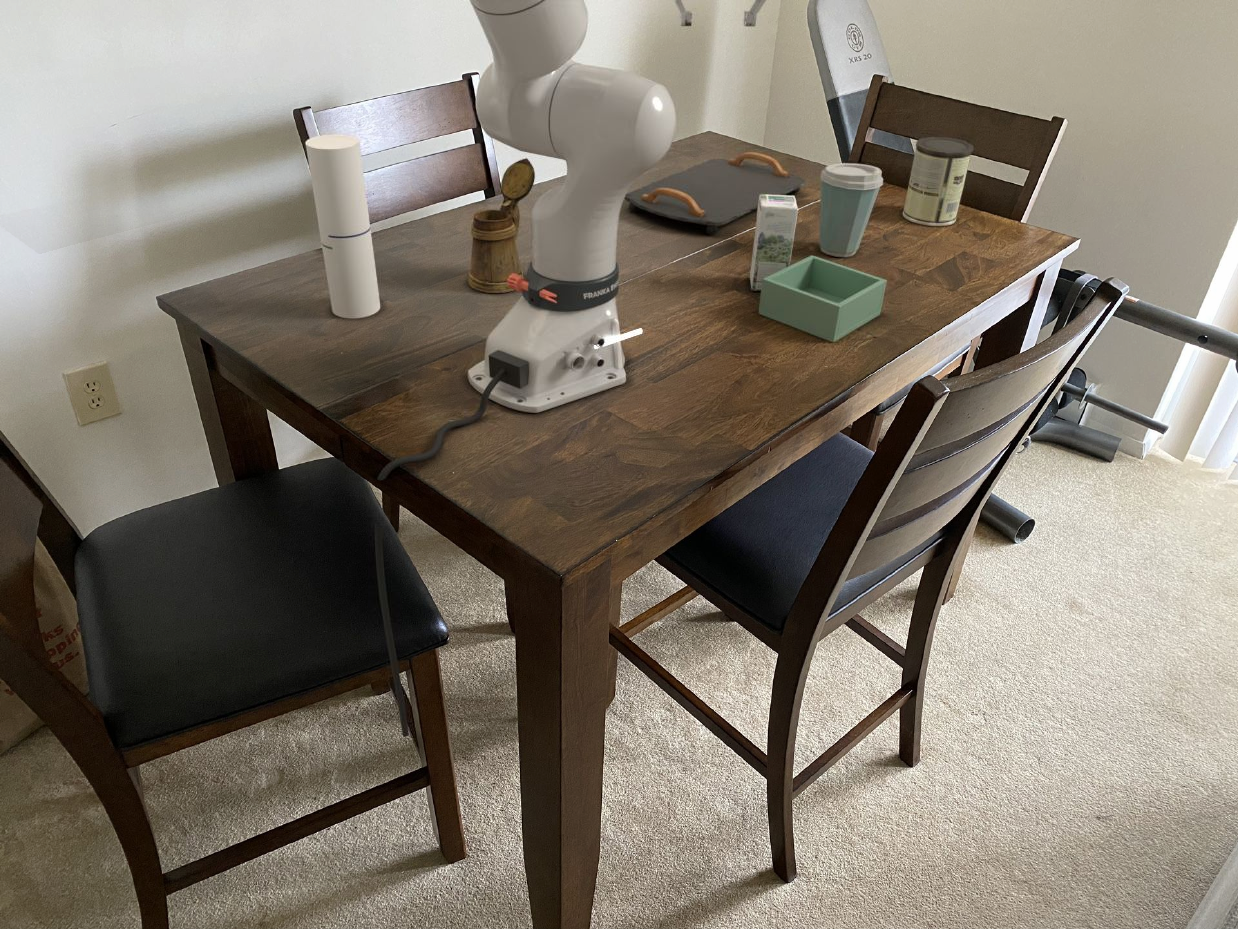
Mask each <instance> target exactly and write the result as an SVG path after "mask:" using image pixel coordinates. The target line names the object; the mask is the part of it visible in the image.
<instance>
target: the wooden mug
mask: <svg viewBox="0 0 1238 929" xmlns="http://www.w3.org/2000/svg"><path fill="white" fill-rule="evenodd" d="M535 179H536V172H535V168H534V166H533V164H532V163H531V161H530V160H529V159H528V158H527V157H526V158H522V159H519V160H517V161H515V162H513V163H512V164H511V165H509V166H508V167H507V168H506V170H505V171H504V173H503V176H502V178H501V183H500V191H501V194H502V197H503V201H502V203H501V206H500V208H499V210H498V209H482V210H479V211H477V212H475V213H474V214H473V221H472V222H471V229H470V230H471V231H470V234H471V235H470V236H471V237H472V244H471V245H472V246H471V259H470V269H469V272H468V280H467V283H468V286H469V287H470V288H472V289H473V290H476V291H479V292H481V293H482V292H483V293H487V294H490V293H491V294H501V293H502V294H503V293H509V292H513V291H516V290H515V289H511V288H509V287H508V286H507V285H508V284H507V282H508V281H507V279H508V278H509V276H510V275H511V274H513V273H515V274H517V275H519V276H520V277H524V272H523V269H522V267H521V263H520V256H519V252H518V247H517V237H518V234H519V228H520V217H521V216H520V208H519V202H520V201H522V200H523V199H525V198H526V197H527V196H528V195H529V194H530V192H531V191H532V189H533V186H534V183H535Z"/></svg>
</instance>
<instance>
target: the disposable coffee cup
mask: <svg viewBox="0 0 1238 929" xmlns="http://www.w3.org/2000/svg"><path fill="white" fill-rule="evenodd" d="M882 173H883V171H882V170H881V168H879V167H877V166H873V165H869V164H862V163H847V162H840V163H833V164H830V165H827V166H825V167H824V168H823V169H822V170H821V173H820V175H819V177H820V202H819V203H820V208H819V239H818V240H819V241H818V243H819V247H820V251H821V252H822V253H824V254H826V255H828V256H832V257H837V258H848V257H853V256H854V255H855V254H856V253H857V251H858V250H859V249H860V248H859V247H860V244H861V242H862V240H863V237H864V233H865V230H866V228H867V225H868V223H869V220H870V218H871V217H870V216H871V214H872V211H873V209H874V205H875V202H876V201H877V200H876V199H877V197H878V194H879V191H880V189H881V187H882V186H884V178H883V176H882Z"/></svg>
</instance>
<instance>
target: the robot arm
mask: <svg viewBox="0 0 1238 929" xmlns="http://www.w3.org/2000/svg"><path fill="white" fill-rule="evenodd" d="M673 1H674V4H675V5H676V8H677V9H678V12H679V20H678V21H679V26H680V27H692V22H693V21H692V19H693V12H692V11H690V10H686V8H685V6H684V3H683V0H673ZM766 1H767V0H755V1H754V2H753V3H752V6H751V7H750V9H749V11H746V10H744V11H743V20H742V25H743V26H744V27H756V25H757V17H758V14H759V12H760V10H761V9H762V7H763V6H764V4H765V3H766ZM469 3H470V4H471V7H472V10H474V13H475V15H476V17H477V19H478V22H479V24H480V26H481V29H482V31H483V33H484V35H485V39H486V40H487V43H488V45H489V47H490V51H491V53H492V59H493V60H492V62H491V63H490V64H489V65H488V66H487V67H486V69H485V70H484V72H482V75H481V77H480V79H479V81H478V84H477V87H476V93H475V109H476V115H477V119H478V121H479V124H480V126H481V129H482V130H483V132H484V133H485V134H486V135H487V136H488V137H489V138H491V139H493V140H496V141H498V142H499V143H502V144H503V145H506V146H509V147H510V148H512V149H515V150H517V151H519V152H523V153H528V154H534V155H538V156H544V157H547V158H552V159H558V160H563V161H565V163H566V177H565V181H564V183H562V184H559V185H557V186H555V187H553V188H551V189H549V190H547V191H545V192H544V193H542V194H541V195H540V196H539V197H538V198H537V199H536V201H535V203H534V204H533V206H532V209H531V212H530V240H531V241H530V243H531V246H530V248H531V261H530V262H529V265H528V268H527V271H526V275H525V277H524V276H523V277H520V276H519V275H517V274H515V273H513V274H511V275H510V276H509V278H508V279H507V281H508V282H507V284H508V285H507V286H508V287H509V288H511V289H515V290H514V291H516V292H518V293H521V296H520V298H518V300H517V301H516V302H515V303H514V305H513V306H512V307H511V308H510V309H509V310H508V312H507V313H506V314H505V315H504V317H502V319H501V320H500V321H499V322H498V323H497V325H496V326H495V327H494V328H493V329H492V330H491V332H490V333H489V334H488V336H487V339H486V342H485V349H484V359H483V360H482V361H480V362H478V363H477V364H475V365H474V366H472V367H471V368H469V369H468V370H467V379H468V382H469V384H470V385H471V386H472V388H474V389H475V390H476V391H477V392H478V393H480V394H481V398H480V403H479V407H478V409H477V411H476V412H475V413H474V414H472V415H471V416H469V417H467V418H463V419H462V418H461V419H458V420H454V421H450V422H447V423H445V424H444V425H442V426H441V427H439V429H438V430H437V432H436V434H435V437H434V441H433V445H432V447H431V448H429V450H427V451H425V452H423V453H421V454H415V455H410V456H402V457H399V458H396V459H394V460H392V461H390V462H388V464H386V465H385V467H383V469H382V470H381V471H380V472H379V474H378V476H377V481H384V480H386V479H387V477H388V476H389V474H390V473H391V472H392V471H393V470H395V469H396V468H397V467H400V466H404V465H408V464H415V463H422V462H424V461H425V462H426V461H427V460H429V459H431V458H433V457H434V456H435V455H436V454H437V453H439V451H440V450H441V449H440V448H441V446H442V442H443V437H444V436H445V434H446V433H447V432H448V431H450V430H452V429H456V428H459V427H465V426H469V425H471V424H474V423H476V422H477V421H479V420H480V419H481V418H482V417H483V415H484V414H485V412H486V409H487V406H488V402H489V400H491V401H493V402H495V403H497V404H498V405H502V406H503V407H506V408H508V409H512V410H515V411H519V412H524V413H532V414H537V413H541V412H544V411H548V410H550V409H553V408H556V407H559V406H562V405H565V404H568V403H572V402H575V401H577V400H579V399H583V398H585V397H589V396H591V395H594V394H597V393H600V392H603V391H607V390H609V389H612V388H615V387H618V386H622V385H624V384H625V383H626V382H627V374H626V371H625V368H624V367H625V364H626V357H625V354H624V351H623V347H622V343H621V341H624V340H626V339H630V338H632V337H635V336H638V335H641V334H643V329H642V328H638V329H635V330H634V329H633V330H632V331H628V332H626V333H622V334H621V330H620V321H619V314H618V308H617V299H616V298H617V295H618V294H619V290H620V289H619V288H620V287H619V285H620V272H619V271H620V269H619V268H620V266H619V264H618V262H617V243H618V231H619V230H618V229H619V222H620V213H621V209H622V206H623V203H624V200H625V199H624V198H625V196H626V194H627V193H629V190H630V189H631V187H632V185H633V184H634V183H635V182H636V181H637V179H638V178H640V177H641V176H642V175H643V174H645V173H646V172H647V171H649V170H651V169H652V168H653V167H655V166H656V165H658V164H659V162H660V161H662V160H663V158H664V157H665V156H666V154H667V153H668V151H669V150H670V148H671V146H672V143H673V142H674V138H675V134H676V129H677V114H676V108H675V104H674V102H673V99H672V97H671V95H670V92H669V91H668V90H667V88H666V87H665V86H664V85H663V84H661V83H659V82H656V81H654V80H651V79H650V78H646V77H644V76H642V75H639V74H636V73H634V72H632V71H627V70H622V69H615V68H608V67H602V66H597V65H590V64H583V63H580V62H577V61H574V60H573V59H572V58H573V57H574V56H575V55H576V54H577V53H578V51H580V49H581V47H582V45H583V43H584V41H585V39H586V35H587V32H588V24H589V12H588V11H589V10H588V9H587V8H588V7H587V5H586V1H585V0H469ZM374 544H375V545H374V548H375V564H376V577H377V586H378V594H379V601H380V610H381V615H382V616H381V617H382V622H383V629H384V633H385V638H386V639H385V640H386V645H387V650H388V656H389V661H390V667H391V672H392V677H393V678H392V679H393V684H394V688H395V695H396V701H397V706H398V713H399V720H400V727H401V735H402V737H404V738H406V737H409V726H408V718H407V717H408V716H407V711H406V705H405V698H404V692H403V686H402V681H401V680H402V679H401V675H400V674H401V673H400V669H399V664H398V663H399V662H398V658H397V653H396V652H397V651H396V646H395V641H394V635H393V628H392V622H391V616H390V610H389V603H388V594H387V587H386V578H385V564H384V548H383V547H384V546H383V525H381V524H379V523H378V522H374Z"/></svg>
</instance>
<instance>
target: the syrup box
mask: <svg viewBox="0 0 1238 929" xmlns="http://www.w3.org/2000/svg"><path fill="white" fill-rule="evenodd" d="M798 212H799V207H798V205H797V200H796V196H795V195H787V194H785V195H767V194H760V195H759V202H758V208H757V209H756V220H755V228H754V237H753V244H752V252H751V253H752V254H751V259H750V260H751V261H750V268H749V280H750V282H749V283H750V288H751V291H752V292H761V288H762V280H763V279H764V278H766V277H768V276H770V275H772V274H774V273H776V272H778V271H780V270H782V269H784V268H787V267H789V266H791V260H792V252H793V246H794V239H795V234H796V233H795V232H796V228H797V227H796V226H797V222H798V221H797V220H798V214H799V213H798Z"/></svg>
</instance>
